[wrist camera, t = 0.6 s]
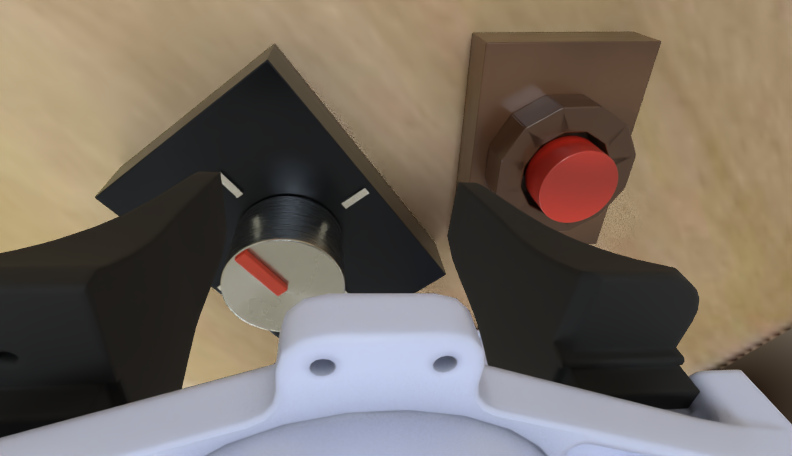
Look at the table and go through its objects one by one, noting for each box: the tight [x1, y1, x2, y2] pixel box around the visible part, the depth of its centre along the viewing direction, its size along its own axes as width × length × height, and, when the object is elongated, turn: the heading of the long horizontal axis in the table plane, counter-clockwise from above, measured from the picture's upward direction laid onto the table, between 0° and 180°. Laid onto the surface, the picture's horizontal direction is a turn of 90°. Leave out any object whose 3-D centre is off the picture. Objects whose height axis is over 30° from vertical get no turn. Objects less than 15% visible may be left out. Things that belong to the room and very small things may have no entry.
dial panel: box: [95, 44, 446, 338], centre depth 23 cm, size 14×10×3 cm
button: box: [525, 136, 618, 223], centre depth 21 cm, size 4×4×2 cm
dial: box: [220, 196, 345, 332], centre depth 21 cm, size 5×5×4 cm
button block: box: [456, 32, 661, 244], centre depth 23 cm, size 11×8×4 cm
